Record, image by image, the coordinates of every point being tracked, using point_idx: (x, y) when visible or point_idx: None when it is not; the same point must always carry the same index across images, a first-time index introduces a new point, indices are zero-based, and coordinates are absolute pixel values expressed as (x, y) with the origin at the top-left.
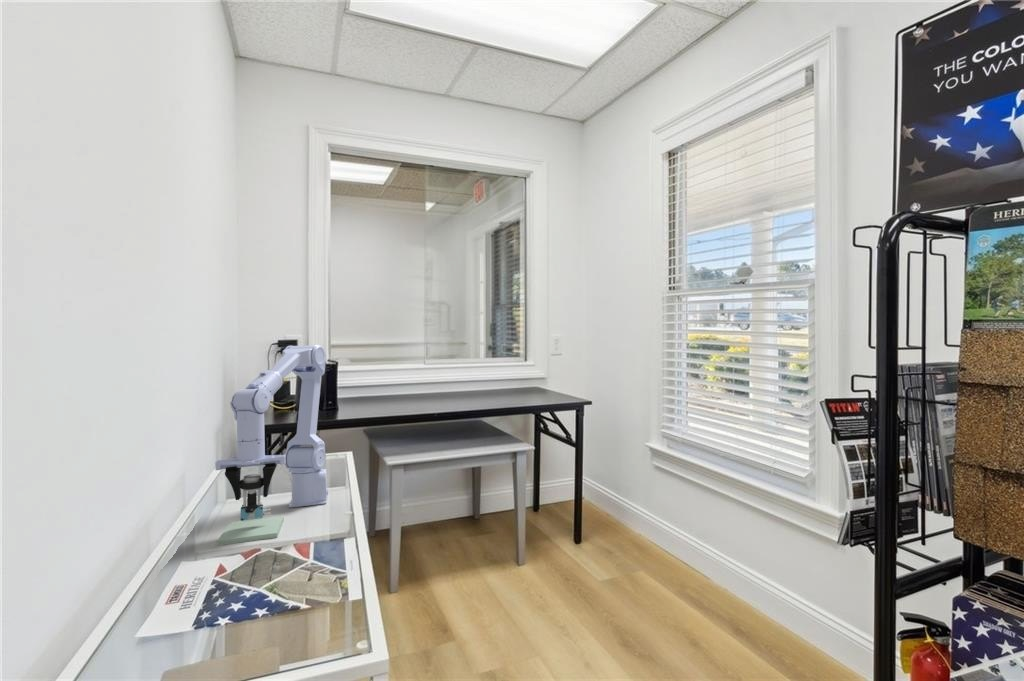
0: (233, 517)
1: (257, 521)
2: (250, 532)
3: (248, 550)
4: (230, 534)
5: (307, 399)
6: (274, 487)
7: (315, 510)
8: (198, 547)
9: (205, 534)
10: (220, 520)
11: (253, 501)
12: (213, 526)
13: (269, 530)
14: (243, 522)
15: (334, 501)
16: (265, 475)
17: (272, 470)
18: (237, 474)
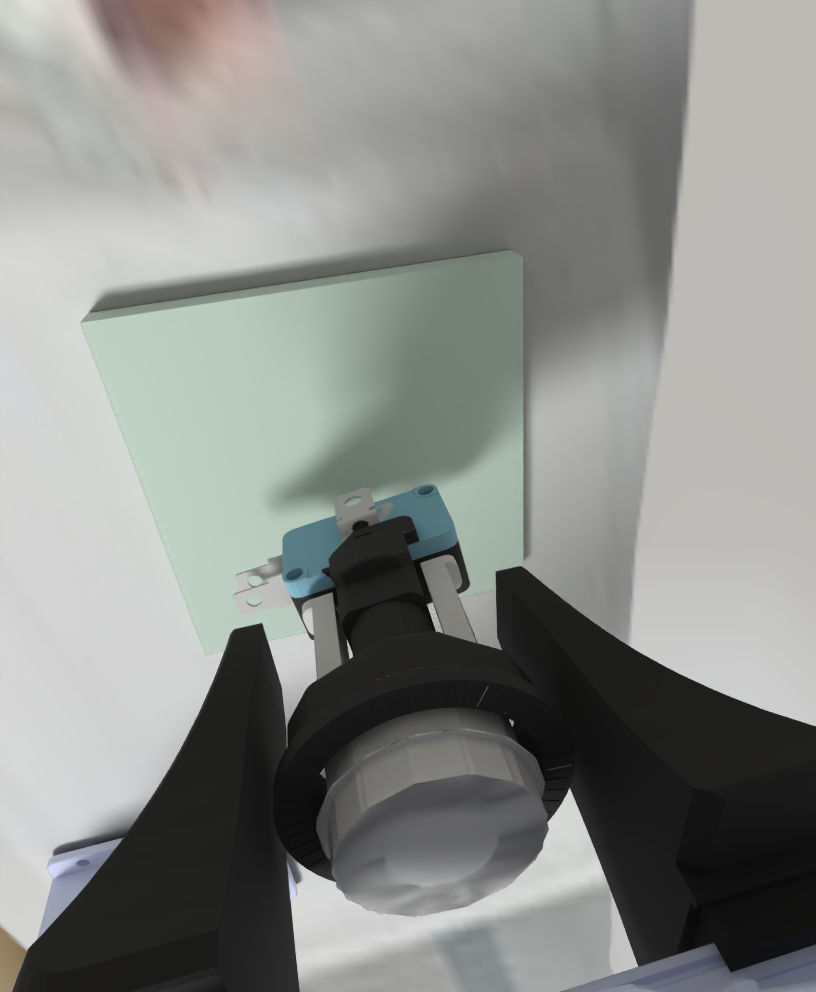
0: None
1: None
2: (325, 384)
3: (213, 31)
4: (462, 373)
5: None
6: (445, 989)
7: (65, 773)
8: (623, 243)
9: (622, 476)
10: None
11: (363, 595)
12: (603, 589)
13: (181, 396)
14: None
15: (13, 887)
16: (199, 845)
17: (27, 960)
18: (647, 813)
